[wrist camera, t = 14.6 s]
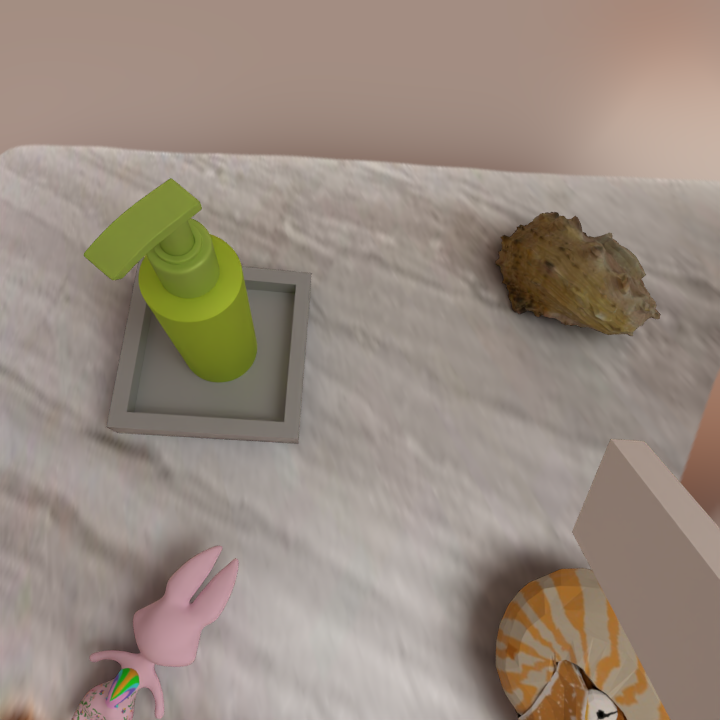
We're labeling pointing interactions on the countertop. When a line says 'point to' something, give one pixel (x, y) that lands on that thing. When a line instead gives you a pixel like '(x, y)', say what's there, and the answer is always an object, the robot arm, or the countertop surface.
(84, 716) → the rabbit figure
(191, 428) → the holder tray
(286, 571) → the countertop surface
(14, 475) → the countertop surface
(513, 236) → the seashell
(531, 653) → the nautilus
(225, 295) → the soap dispenser
